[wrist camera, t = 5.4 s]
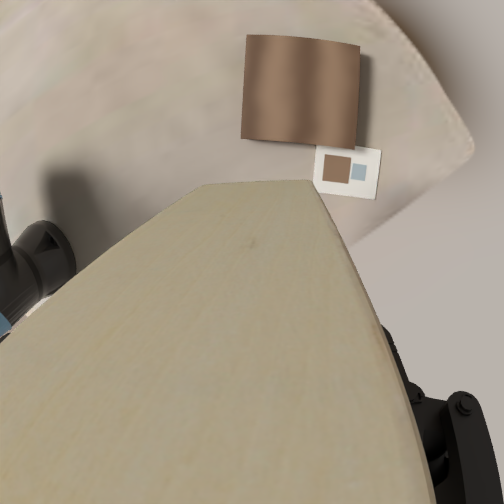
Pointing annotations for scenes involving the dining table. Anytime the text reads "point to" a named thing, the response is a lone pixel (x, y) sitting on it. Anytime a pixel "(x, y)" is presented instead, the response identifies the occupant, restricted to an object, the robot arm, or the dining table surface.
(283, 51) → the walnut plinth
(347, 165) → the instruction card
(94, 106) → the dining table surface
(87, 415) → the toy refrigerator
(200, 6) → the dining table surface
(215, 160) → the dining table surface
